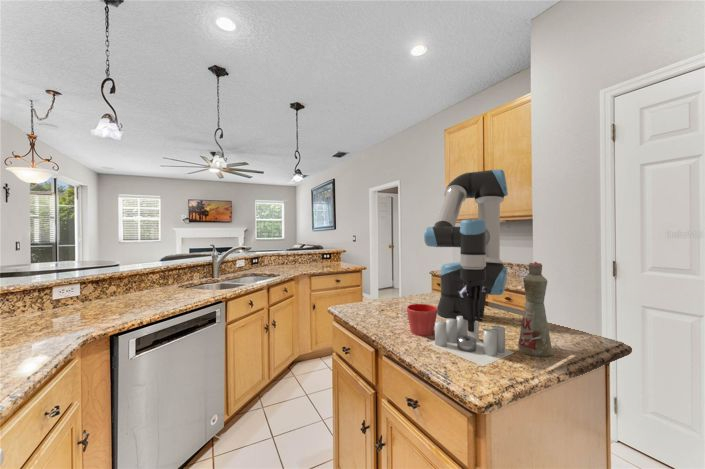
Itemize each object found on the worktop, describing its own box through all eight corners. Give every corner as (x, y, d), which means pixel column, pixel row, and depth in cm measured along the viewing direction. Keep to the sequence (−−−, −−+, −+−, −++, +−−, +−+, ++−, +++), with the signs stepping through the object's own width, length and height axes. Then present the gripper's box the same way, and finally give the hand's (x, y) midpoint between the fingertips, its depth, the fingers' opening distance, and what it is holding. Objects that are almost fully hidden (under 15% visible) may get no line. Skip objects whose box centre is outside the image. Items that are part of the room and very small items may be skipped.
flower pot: (439, 340, 98) (438, 312, 98) (406, 338, 100) (406, 310, 100) (436, 329, 108) (436, 304, 108) (407, 328, 111) (406, 303, 110)
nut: (464, 343, 93) (464, 334, 93) (480, 349, 89) (479, 339, 89) (453, 347, 90) (453, 337, 90) (469, 353, 85) (469, 343, 85)
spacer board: (458, 334, 103) (458, 313, 103) (514, 354, 86) (514, 329, 86) (427, 344, 94) (427, 321, 94) (483, 368, 77) (482, 340, 77)
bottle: (557, 361, 81) (556, 263, 81) (521, 357, 84) (520, 262, 84) (548, 349, 89) (547, 260, 89) (515, 345, 92) (514, 259, 92)
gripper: (474, 265, 98) (475, 333, 98) (449, 267, 91) (450, 341, 91) (495, 267, 92) (496, 340, 92) (470, 270, 84) (471, 349, 85)
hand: (473, 341), depth 91 cm, fingers closed
